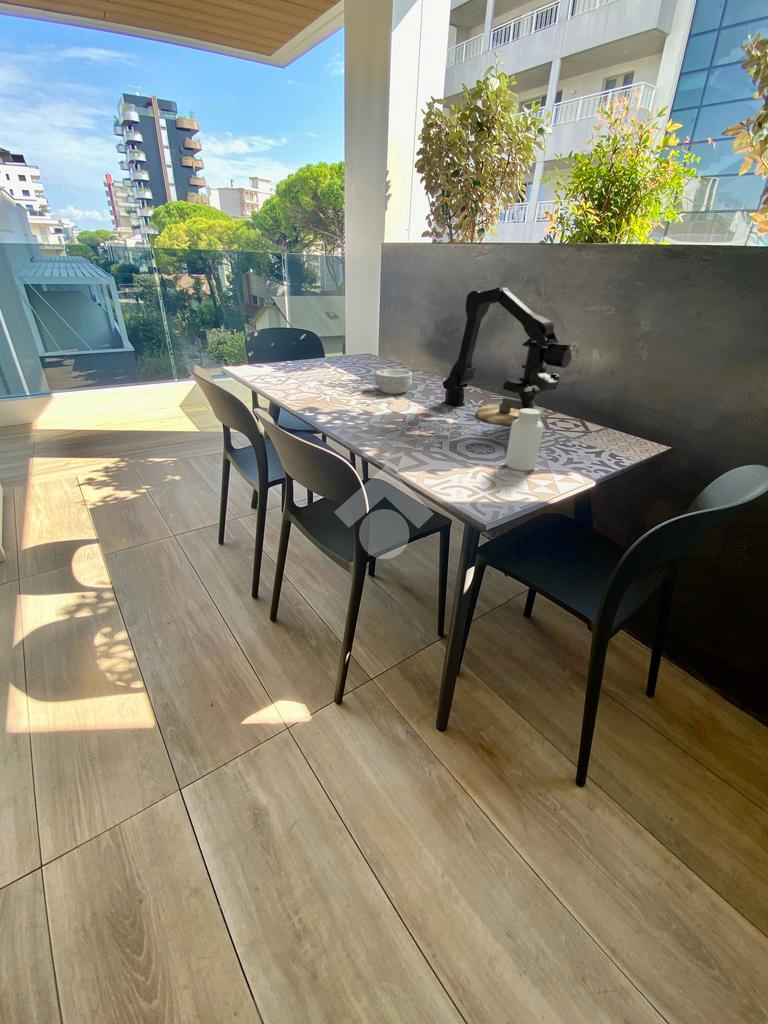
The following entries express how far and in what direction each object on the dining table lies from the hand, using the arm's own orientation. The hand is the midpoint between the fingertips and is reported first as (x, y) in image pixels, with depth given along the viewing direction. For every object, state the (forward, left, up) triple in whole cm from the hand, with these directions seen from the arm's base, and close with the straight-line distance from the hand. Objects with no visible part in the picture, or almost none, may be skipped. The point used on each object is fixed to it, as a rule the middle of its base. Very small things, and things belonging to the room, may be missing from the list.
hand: (525, 410), depth 152 cm
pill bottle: (+21, -33, -5) cm, 39 cm away
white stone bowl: (-58, -8, -5) cm, 59 cm away
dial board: (-8, +1, -4) cm, 10 cm away
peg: (-3, +2, -3) cm, 4 cm away
